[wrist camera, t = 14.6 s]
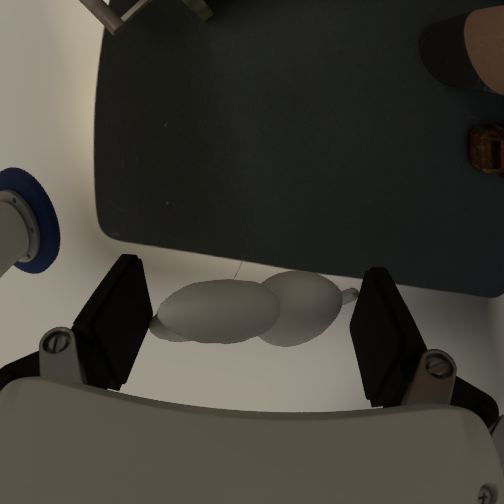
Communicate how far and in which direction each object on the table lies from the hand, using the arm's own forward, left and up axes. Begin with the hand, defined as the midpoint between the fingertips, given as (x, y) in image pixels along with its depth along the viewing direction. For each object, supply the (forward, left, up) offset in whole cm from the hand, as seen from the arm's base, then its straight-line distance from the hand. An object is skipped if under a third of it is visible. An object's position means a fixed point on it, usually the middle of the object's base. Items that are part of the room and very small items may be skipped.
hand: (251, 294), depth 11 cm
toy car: (+28, +8, -20) cm, 35 cm away
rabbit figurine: (0, 0, -2) cm, 2 cm away
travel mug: (+18, +16, -20) cm, 31 cm away
